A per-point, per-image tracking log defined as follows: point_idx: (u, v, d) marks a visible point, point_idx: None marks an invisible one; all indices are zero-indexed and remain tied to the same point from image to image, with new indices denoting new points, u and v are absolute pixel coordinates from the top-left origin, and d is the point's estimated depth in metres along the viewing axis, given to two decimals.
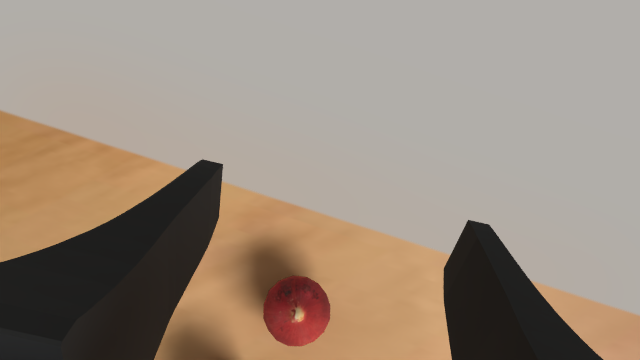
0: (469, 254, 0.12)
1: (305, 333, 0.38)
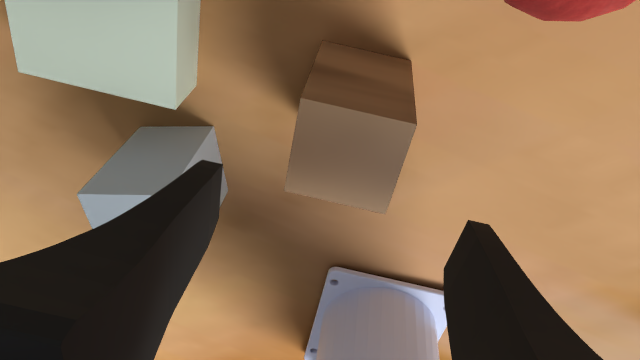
0: (469, 254, 0.12)
1: None
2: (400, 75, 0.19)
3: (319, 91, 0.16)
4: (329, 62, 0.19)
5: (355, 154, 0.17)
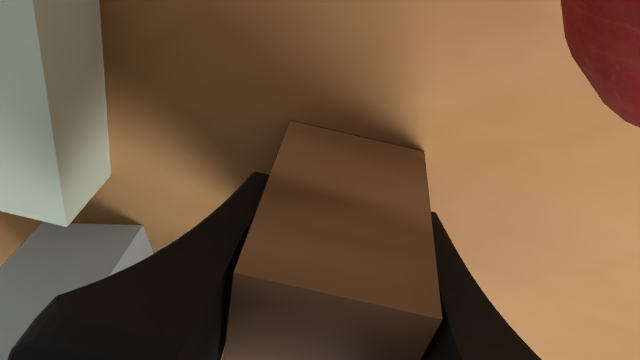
0: None
1: None
2: (409, 188, 0.12)
3: (272, 248, 0.09)
4: (296, 170, 0.12)
5: (334, 349, 0.10)
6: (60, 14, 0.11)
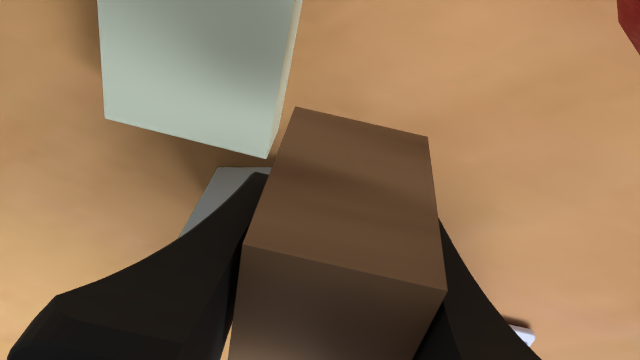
0: None
1: None
2: (412, 170, 0.12)
3: (279, 223, 0.10)
4: (302, 152, 0.12)
5: (340, 324, 0.10)
6: (294, 14, 0.17)
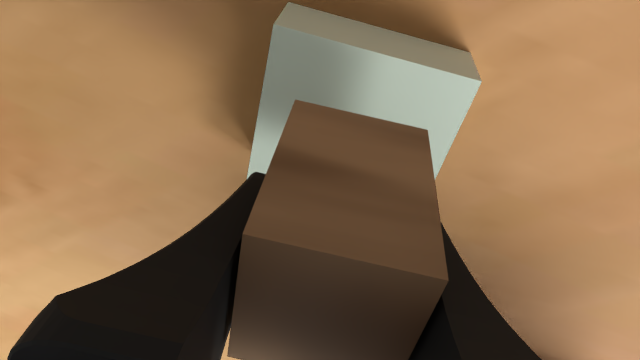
0: None
1: None
2: (413, 162, 0.12)
3: (279, 213, 0.10)
4: (302, 143, 0.12)
5: (341, 315, 0.10)
6: None
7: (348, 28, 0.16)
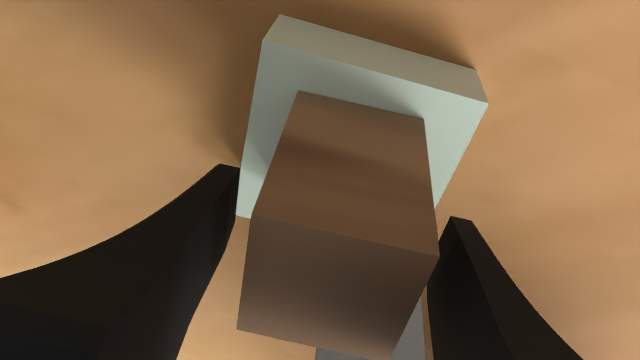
0: (450, 250, 0.12)
1: None
2: (409, 149, 0.13)
3: (285, 196, 0.10)
4: (305, 132, 0.13)
5: (341, 289, 0.11)
6: None
7: (345, 43, 0.15)
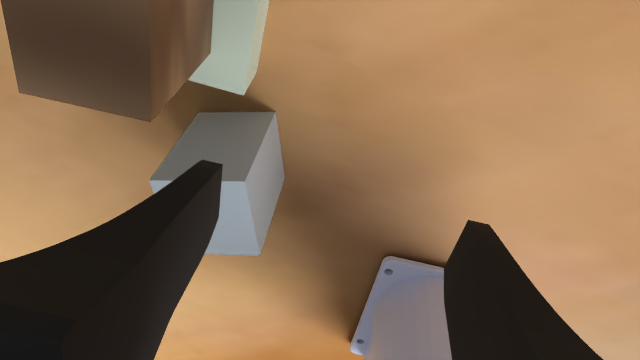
0: (469, 254, 0.12)
1: None
2: None
3: None
4: None
5: (86, 33, 0.13)
6: None
7: None
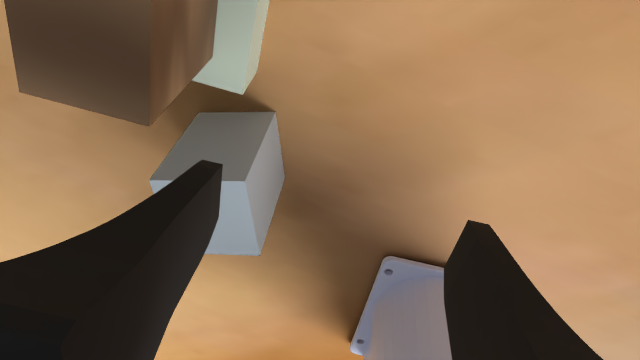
0: (469, 254, 0.12)
1: None
2: None
3: None
4: None
5: (88, 36, 0.13)
6: None
7: None
